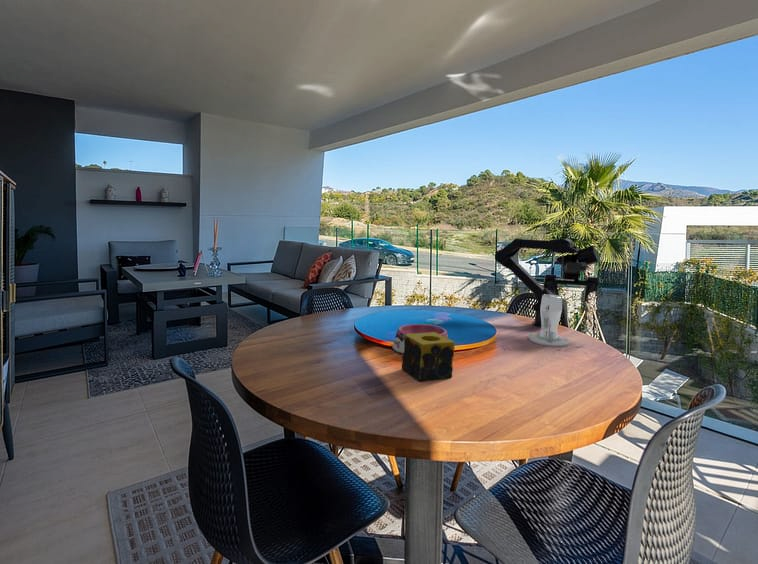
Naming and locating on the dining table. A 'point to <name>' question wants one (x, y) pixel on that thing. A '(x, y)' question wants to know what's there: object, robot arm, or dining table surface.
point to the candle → (428, 356)
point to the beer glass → (550, 314)
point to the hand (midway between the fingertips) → (571, 300)
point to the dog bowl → (412, 329)
